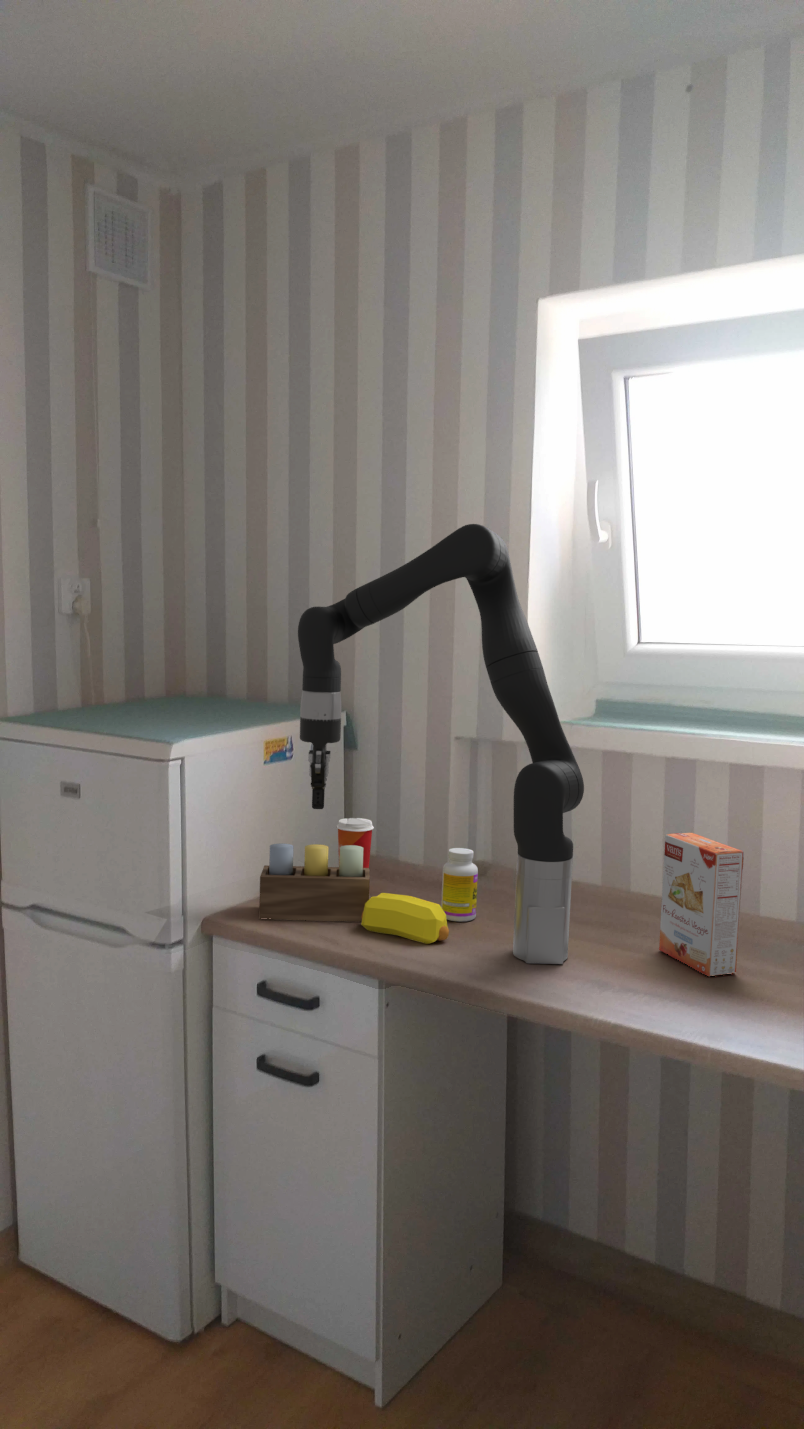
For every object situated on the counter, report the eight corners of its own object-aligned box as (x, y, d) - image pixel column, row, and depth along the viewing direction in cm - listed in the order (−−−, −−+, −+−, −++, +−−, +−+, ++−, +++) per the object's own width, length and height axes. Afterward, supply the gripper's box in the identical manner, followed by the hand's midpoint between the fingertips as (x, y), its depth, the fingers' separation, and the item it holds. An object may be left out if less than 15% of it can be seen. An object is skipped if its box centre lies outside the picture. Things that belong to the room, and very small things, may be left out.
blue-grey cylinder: (291, 881, 194) (292, 849, 194) (268, 880, 194) (268, 848, 194) (293, 875, 199) (294, 843, 198) (270, 874, 199) (270, 843, 198)
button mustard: (327, 881, 195) (328, 850, 194) (303, 881, 194) (304, 849, 194) (328, 875, 199) (328, 844, 198) (304, 875, 199) (305, 844, 198)
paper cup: (330, 883, 219) (332, 817, 218) (366, 882, 221) (368, 816, 220) (339, 894, 212) (341, 825, 210) (376, 892, 214) (378, 824, 213)
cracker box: (656, 951, 182) (663, 832, 180) (685, 948, 185) (693, 831, 182) (706, 978, 169) (715, 851, 167) (737, 975, 172) (746, 849, 169)
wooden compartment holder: (368, 921, 194) (369, 879, 193) (259, 919, 193) (260, 876, 192) (368, 908, 202) (369, 868, 201) (263, 906, 201) (264, 865, 200)
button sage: (362, 882, 195) (363, 850, 194) (338, 882, 195) (339, 850, 194) (362, 876, 199) (363, 845, 199) (339, 876, 199) (340, 844, 198)
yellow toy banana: (437, 950, 180) (458, 939, 186) (438, 912, 179) (460, 902, 185) (350, 930, 189) (373, 920, 196) (351, 893, 188) (374, 885, 195)
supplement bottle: (476, 923, 195) (479, 855, 194) (441, 922, 195) (443, 854, 194) (475, 913, 202) (477, 847, 200) (440, 911, 202) (443, 845, 200)
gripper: (340, 720, 187) (337, 816, 189) (342, 712, 200) (339, 802, 202) (297, 718, 187) (295, 814, 189) (302, 711, 200) (299, 801, 202)
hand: (317, 808), depth 195 cm, fingers closed
